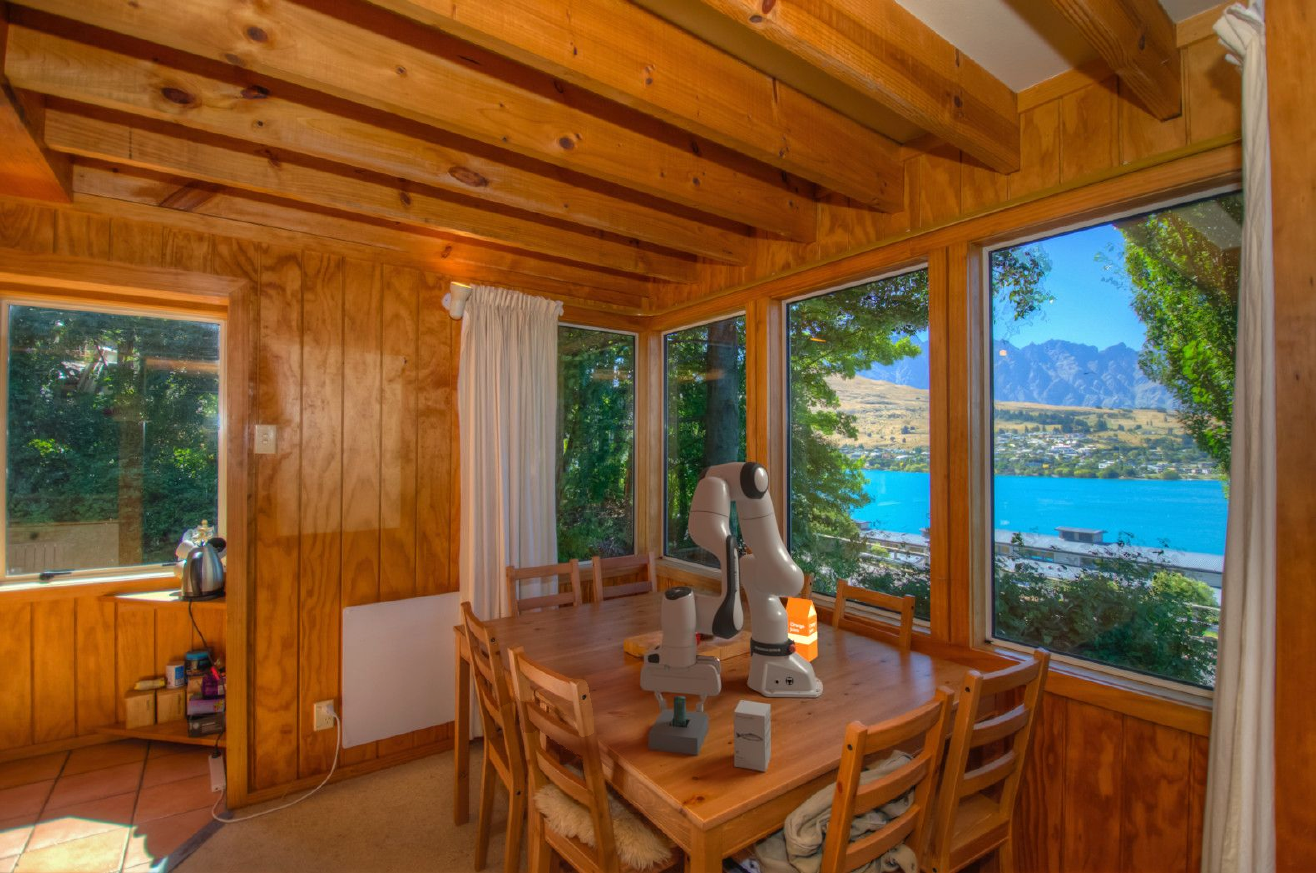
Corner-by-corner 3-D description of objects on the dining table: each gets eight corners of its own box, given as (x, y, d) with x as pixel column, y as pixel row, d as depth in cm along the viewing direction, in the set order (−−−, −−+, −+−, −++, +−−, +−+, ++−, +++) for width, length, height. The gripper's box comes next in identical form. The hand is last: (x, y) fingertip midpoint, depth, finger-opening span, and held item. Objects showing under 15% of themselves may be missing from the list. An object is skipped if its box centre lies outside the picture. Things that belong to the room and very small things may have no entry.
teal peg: (687, 736, 153) (686, 696, 153) (684, 742, 150) (683, 701, 150) (675, 735, 153) (675, 695, 154) (672, 740, 151) (672, 700, 151)
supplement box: (733, 767, 138) (732, 711, 138) (740, 752, 145) (740, 698, 145) (765, 773, 135) (764, 715, 135) (772, 757, 142) (771, 702, 142)
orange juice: (808, 662, 204) (807, 602, 205) (784, 657, 210) (783, 599, 210) (817, 655, 210) (816, 597, 211) (794, 651, 216) (793, 594, 216)
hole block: (708, 728, 157) (708, 713, 157) (697, 755, 143) (697, 738, 143) (663, 723, 160) (663, 708, 160) (648, 749, 146) (648, 732, 147)
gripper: (722, 652, 152) (724, 707, 152) (644, 647, 158) (646, 700, 157) (718, 660, 146) (720, 718, 146) (637, 655, 152) (639, 711, 151)
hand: (681, 709), depth 152 cm, fingers open, 8 cm apart
